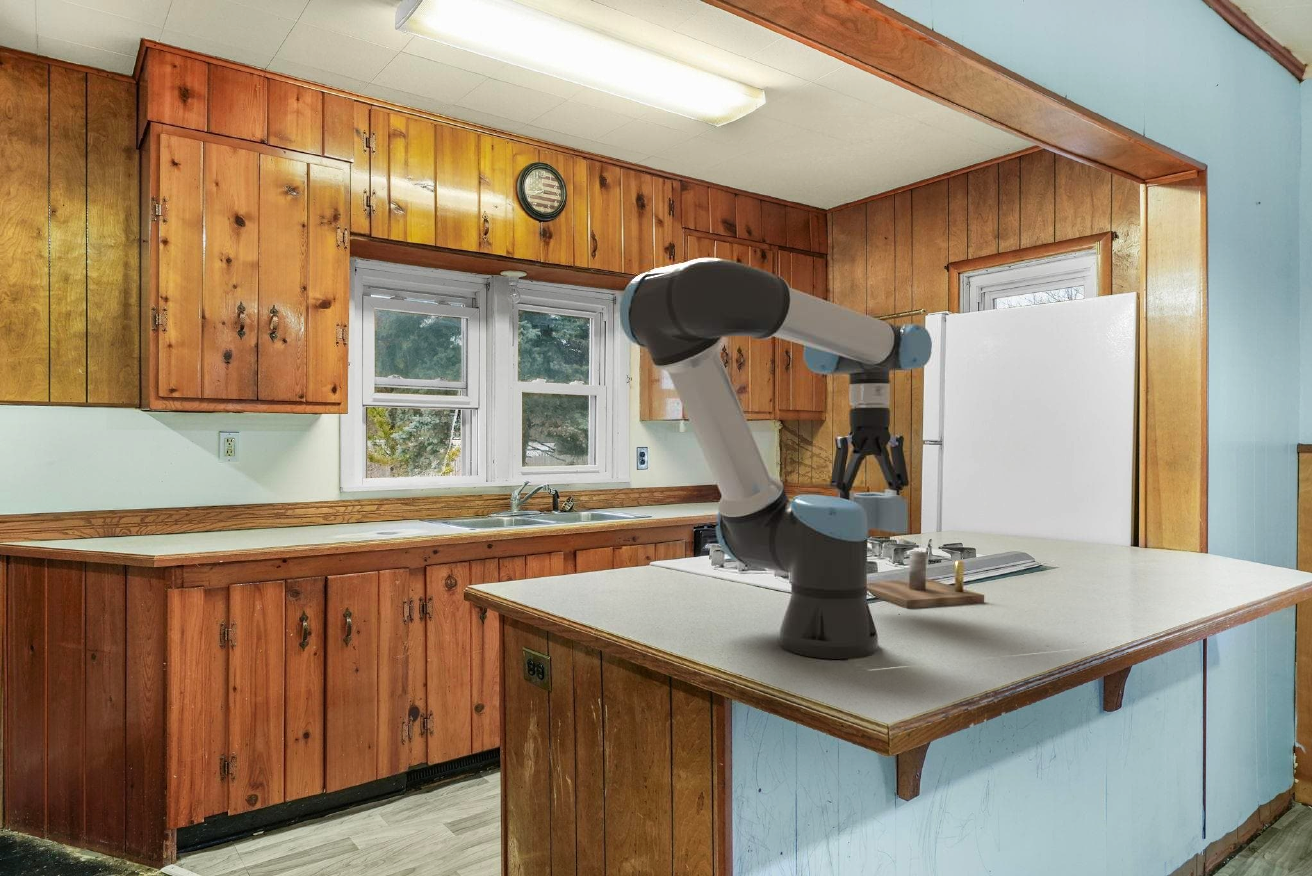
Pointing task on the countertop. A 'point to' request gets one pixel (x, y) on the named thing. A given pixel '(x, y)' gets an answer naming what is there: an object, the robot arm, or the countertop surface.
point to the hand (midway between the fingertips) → (870, 524)
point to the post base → (922, 596)
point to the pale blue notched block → (884, 511)
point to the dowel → (959, 576)
